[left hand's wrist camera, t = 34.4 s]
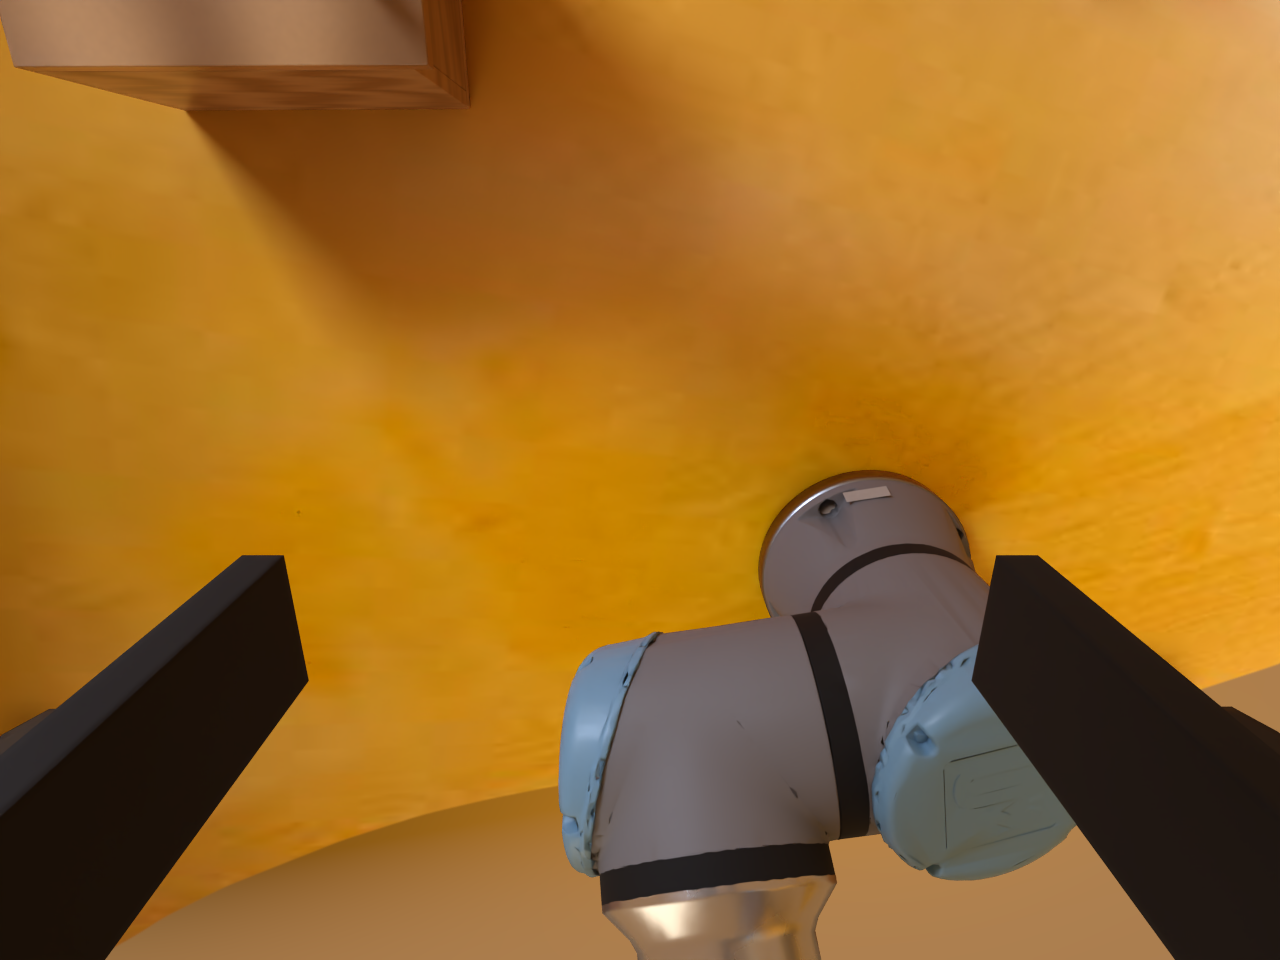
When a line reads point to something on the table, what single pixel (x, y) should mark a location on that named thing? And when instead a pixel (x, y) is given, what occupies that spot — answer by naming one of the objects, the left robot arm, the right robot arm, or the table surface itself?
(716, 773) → the left robot arm
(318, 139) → the table surface
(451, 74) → the chest
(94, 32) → the lid
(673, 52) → the table surface
